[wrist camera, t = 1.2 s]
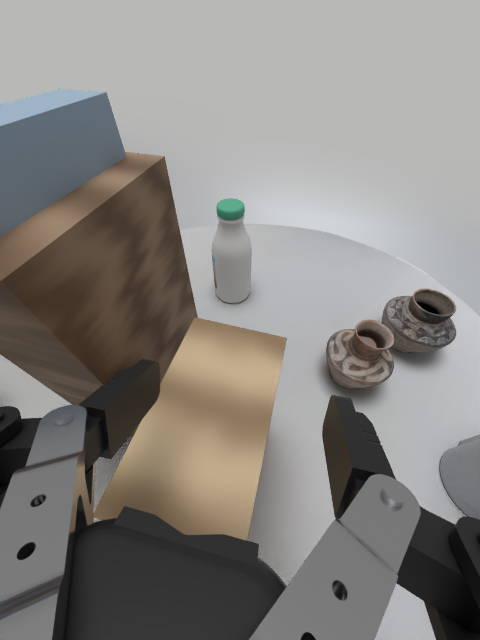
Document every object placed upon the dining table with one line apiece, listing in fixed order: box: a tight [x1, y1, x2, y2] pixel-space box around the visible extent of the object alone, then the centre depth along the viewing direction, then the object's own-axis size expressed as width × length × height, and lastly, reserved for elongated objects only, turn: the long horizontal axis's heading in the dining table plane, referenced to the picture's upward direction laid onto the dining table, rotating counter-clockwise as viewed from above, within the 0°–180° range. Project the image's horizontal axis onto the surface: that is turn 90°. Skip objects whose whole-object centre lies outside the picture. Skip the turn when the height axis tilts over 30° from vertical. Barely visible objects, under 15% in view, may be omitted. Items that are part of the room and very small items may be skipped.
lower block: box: [93, 318, 287, 541], centre depth 25 cm, size 14×8×23 cm, turn 164°
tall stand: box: [0, 152, 198, 437], centre depth 29 cm, size 16×10×32 cm, turn 164°
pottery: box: [326, 289, 456, 389], centre depth 41 cm, size 11×25×12 cm, turn 120°
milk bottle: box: [212, 199, 251, 303], centre depth 48 cm, size 8×8×20 cm
